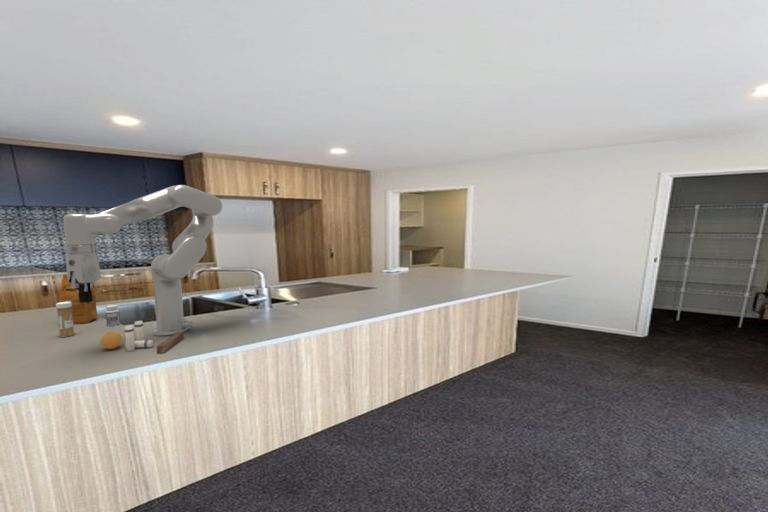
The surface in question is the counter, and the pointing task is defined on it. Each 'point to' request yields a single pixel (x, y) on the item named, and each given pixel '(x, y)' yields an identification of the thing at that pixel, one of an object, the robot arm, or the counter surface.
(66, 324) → the sprinkles bottle
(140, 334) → the pin
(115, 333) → the ball
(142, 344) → the front pin
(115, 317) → the pill bottle
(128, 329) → the pin
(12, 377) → the counter surface
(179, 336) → the brown wooden bar
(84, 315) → the coffee package
